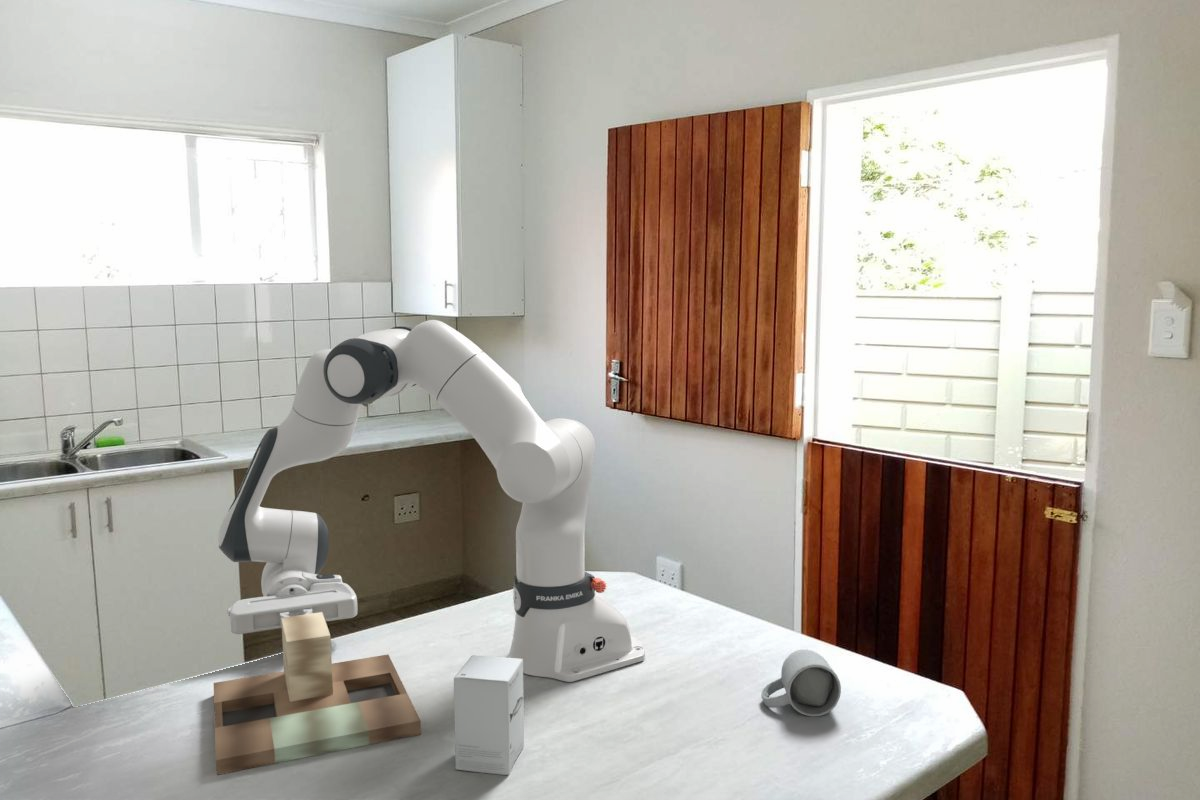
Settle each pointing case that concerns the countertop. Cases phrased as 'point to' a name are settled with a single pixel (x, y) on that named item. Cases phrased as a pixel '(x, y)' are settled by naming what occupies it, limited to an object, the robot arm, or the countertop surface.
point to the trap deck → (310, 715)
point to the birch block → (307, 656)
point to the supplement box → (489, 714)
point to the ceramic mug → (805, 685)
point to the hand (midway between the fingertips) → (298, 626)
